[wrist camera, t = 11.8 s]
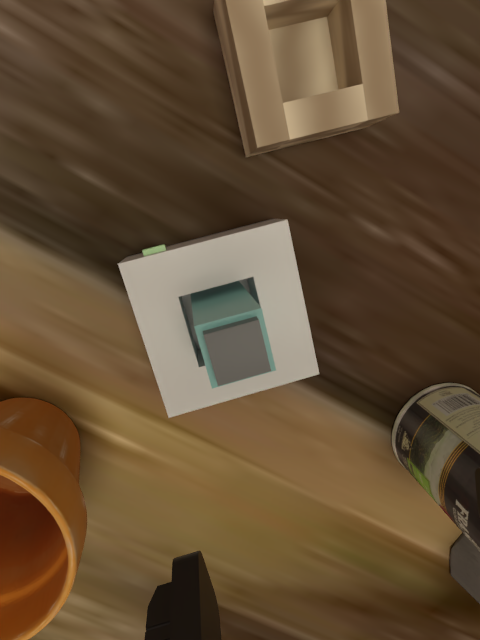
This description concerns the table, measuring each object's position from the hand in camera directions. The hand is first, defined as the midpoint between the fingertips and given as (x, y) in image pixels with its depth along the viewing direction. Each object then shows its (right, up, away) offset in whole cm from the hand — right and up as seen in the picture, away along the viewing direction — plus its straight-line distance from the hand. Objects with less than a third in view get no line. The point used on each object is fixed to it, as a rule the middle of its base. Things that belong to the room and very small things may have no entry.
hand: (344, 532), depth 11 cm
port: (-5, +7, +23) cm, 25 cm away
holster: (+1, +25, +19) cm, 31 cm away
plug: (-4, +7, +22) cm, 24 cm away
